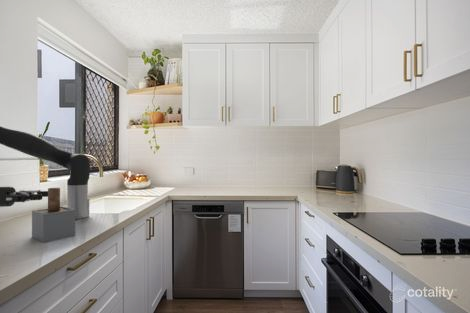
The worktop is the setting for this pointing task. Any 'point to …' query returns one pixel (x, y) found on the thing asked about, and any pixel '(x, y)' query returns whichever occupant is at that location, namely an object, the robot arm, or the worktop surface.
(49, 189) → the wooden peg on base
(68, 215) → the tub
